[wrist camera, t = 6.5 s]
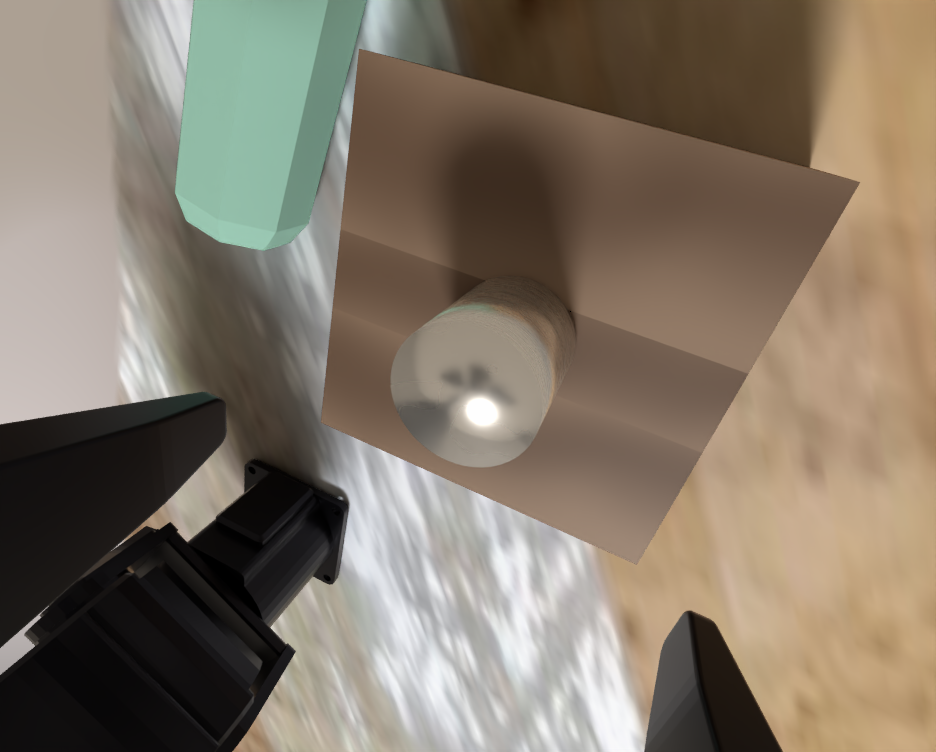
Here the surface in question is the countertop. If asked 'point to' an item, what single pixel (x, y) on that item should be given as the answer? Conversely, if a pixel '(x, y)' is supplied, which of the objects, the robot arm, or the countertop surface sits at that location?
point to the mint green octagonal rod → (260, 113)
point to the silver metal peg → (485, 371)
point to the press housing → (566, 279)
